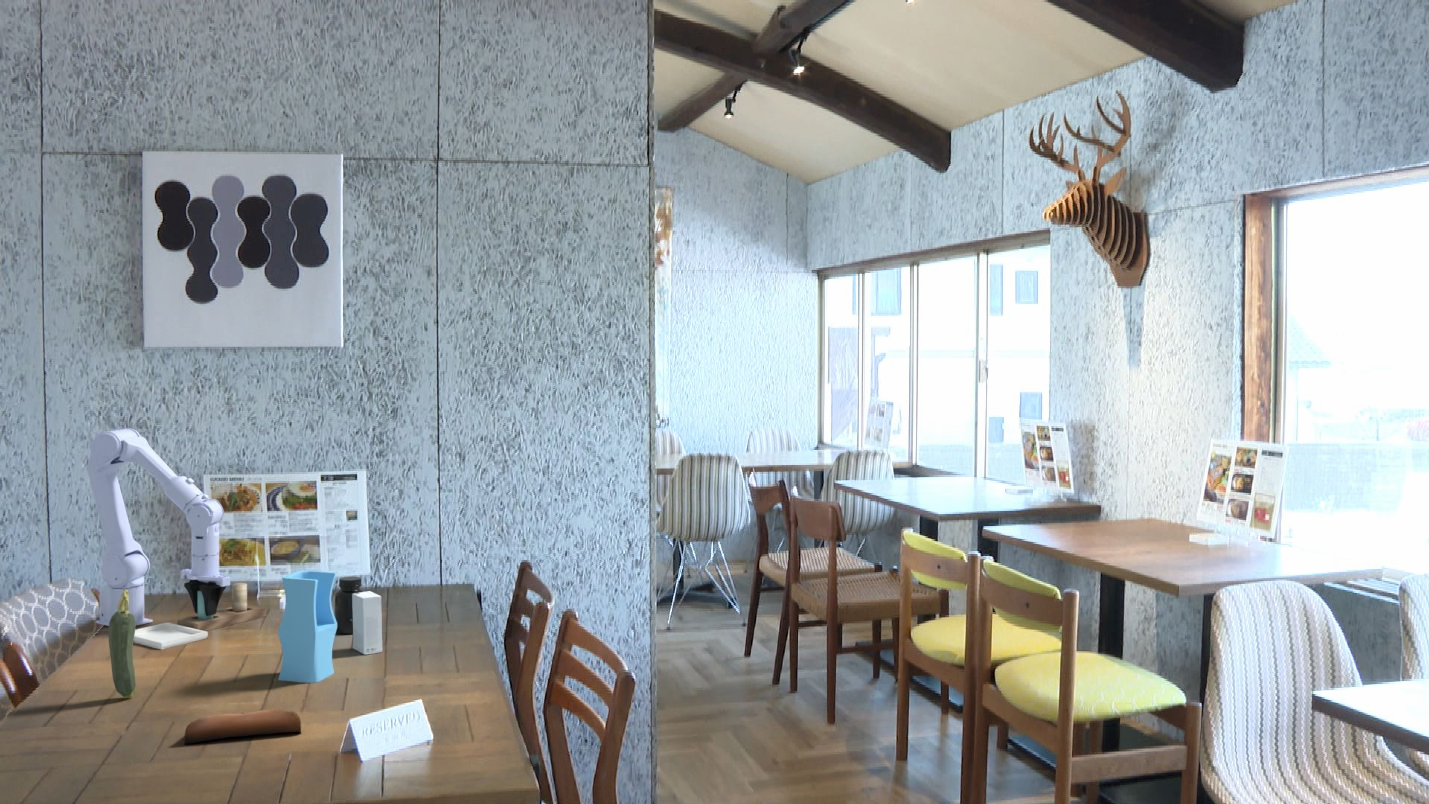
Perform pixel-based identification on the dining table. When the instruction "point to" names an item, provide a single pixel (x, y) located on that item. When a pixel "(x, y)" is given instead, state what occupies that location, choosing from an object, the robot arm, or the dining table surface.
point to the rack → (223, 618)
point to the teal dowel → (202, 608)
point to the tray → (167, 635)
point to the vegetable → (122, 647)
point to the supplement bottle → (345, 603)
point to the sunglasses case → (242, 725)
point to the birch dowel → (239, 597)
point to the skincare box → (367, 622)
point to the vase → (307, 627)
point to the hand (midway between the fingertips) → (205, 613)
